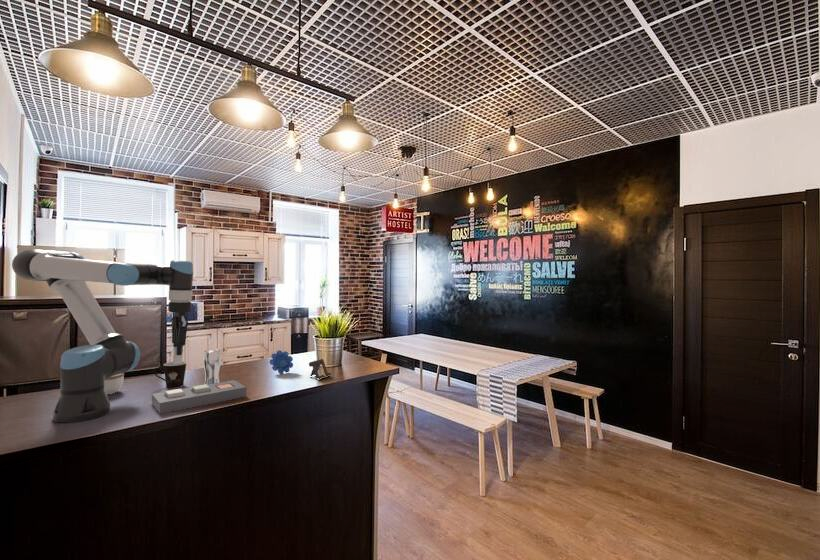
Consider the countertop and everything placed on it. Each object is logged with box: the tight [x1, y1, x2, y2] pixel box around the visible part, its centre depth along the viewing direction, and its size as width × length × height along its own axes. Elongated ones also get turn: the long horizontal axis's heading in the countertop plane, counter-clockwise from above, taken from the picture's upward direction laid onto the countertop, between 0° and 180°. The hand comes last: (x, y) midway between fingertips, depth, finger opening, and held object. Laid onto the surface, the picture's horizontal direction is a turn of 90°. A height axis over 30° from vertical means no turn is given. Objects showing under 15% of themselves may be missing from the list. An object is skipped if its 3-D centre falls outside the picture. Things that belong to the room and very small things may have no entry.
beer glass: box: [203, 349, 222, 385], centre depth 173 cm, size 7×7×15 cm
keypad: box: [151, 379, 247, 415], centre depth 150 cm, size 30×14×4 cm, turn 134°
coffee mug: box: [153, 361, 187, 389], centre depth 168 cm, size 12×9×10 cm
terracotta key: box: [217, 384, 234, 389], centre depth 156 cm, size 5×5×3 cm
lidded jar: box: [104, 373, 125, 396], centre depth 157 cm, size 11×11×9 cm
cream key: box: [164, 388, 184, 398], centre depth 143 cm, size 5×5×3 cm
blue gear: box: [269, 349, 294, 374], centre depth 192 cm, size 12×7×12 cm, turn 121°
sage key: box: [191, 384, 210, 394], centre depth 150 cm, size 5×5×3 cm
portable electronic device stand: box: [308, 358, 332, 379], centre depth 186 cm, size 9×8×8 cm
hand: (177, 363), depth 145 cm, fingers closed
